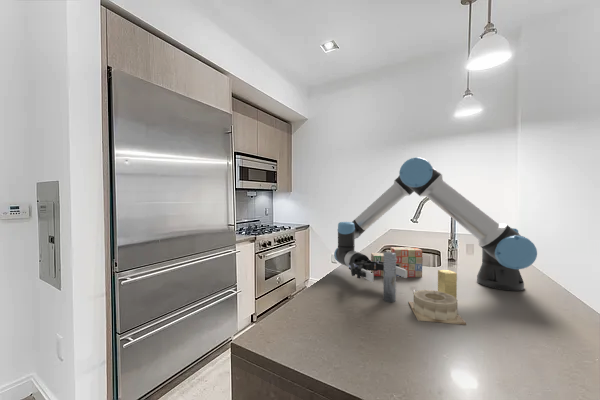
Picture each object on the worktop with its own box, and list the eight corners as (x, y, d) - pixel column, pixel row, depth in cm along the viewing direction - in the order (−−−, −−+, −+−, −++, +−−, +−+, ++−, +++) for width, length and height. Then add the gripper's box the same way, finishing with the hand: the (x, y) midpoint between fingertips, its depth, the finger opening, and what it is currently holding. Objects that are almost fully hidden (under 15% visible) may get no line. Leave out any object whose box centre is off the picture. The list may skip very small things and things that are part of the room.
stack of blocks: (373, 276, 116) (373, 249, 116) (370, 272, 122) (370, 246, 122) (422, 277, 115) (422, 249, 114) (417, 273, 121) (417, 247, 121)
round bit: (394, 298, 90) (394, 252, 90) (396, 302, 86) (396, 254, 86) (382, 297, 91) (382, 251, 91) (384, 301, 87) (384, 254, 87)
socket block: (449, 306, 83) (449, 291, 83) (466, 324, 71) (466, 306, 71) (408, 303, 86) (408, 288, 86) (417, 320, 74) (417, 302, 74)
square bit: (448, 298, 90) (449, 269, 90) (456, 303, 86) (456, 273, 86) (437, 298, 90) (437, 270, 90) (444, 303, 86) (445, 273, 86)
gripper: (382, 268, 112) (419, 283, 92) (329, 273, 104) (357, 290, 84) (382, 250, 112) (419, 262, 92) (330, 254, 104) (357, 267, 84)
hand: (389, 275), depth 88 cm, fingers open, 13 cm apart
